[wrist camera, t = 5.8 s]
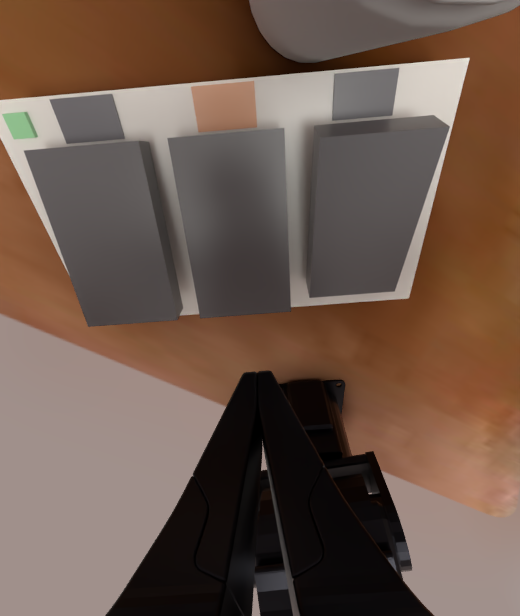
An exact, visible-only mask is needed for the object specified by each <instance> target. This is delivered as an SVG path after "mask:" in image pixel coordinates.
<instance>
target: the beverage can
mask: <svg viewBox="0 0 520 616" xmlns="http://www.w3.org/2000/svg"><path fill="white" fill-rule="evenodd" d="M249 3H250V8H251V12H252V14H253V17H254V19H255V22H256V24H257V26H258V29H259V31H260V33H261V34H262V35H263V37H264V38H265V39H266V41H267V42H268V43H269V45H270V46H271V47H272V48H273V49H275V50H276V51H277V52H278V53H280V54H281V55H282V56H284V57H285V58H288V59H291V60H294V61H296V62H299V63H316V62H321V61H325V60H329V59H333V58H337V57H342V56H346V55H350V54H354V53H359V52H363V51H367V50H371V49H375V48H380V47H384V46H388V45H392V44H396V43H401V42H405V41H409V40H413V39H418V38H422V37H426V36H430V35H434V34H439V33H443V32H447V31H451V30H454V29H457V28H460V27H464V26H467V25H470V24H473V23H476V22H479V21H482V20H486V19H489V18H492V17H495V16H498V15H501V14H504V13H507V12H509V11H511V10H513V9H514V8H516V7H518V6H519V5H520V0H249Z"/></svg>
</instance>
